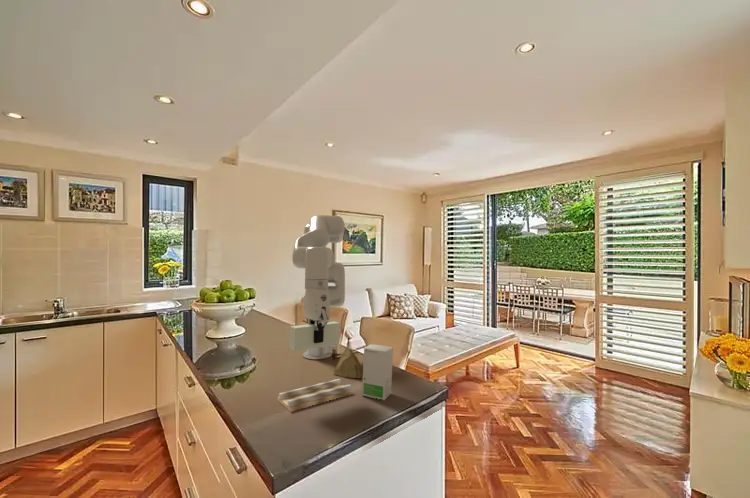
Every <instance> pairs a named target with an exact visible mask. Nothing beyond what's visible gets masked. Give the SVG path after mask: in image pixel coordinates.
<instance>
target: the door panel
mask: <svg viewBox="0 0 750 498" xmlns="http://www.w3.org/2000/svg"><path fill="white" fill-rule="evenodd" d="M318 325H319V323H318ZM340 326H341V324H340V322H338V321H329V322H328V323H327V324H326V325H325V327H324V337H323V342H321V343H314V330H315V324H307V323H306V324H302V325H301V324H300V325H292V326H291V325H290V330H289V332H290V333H289V349H290V351H291V350H292V351H294V352H299V351H307V349H312V348H318V347H324V346H330V345H332V346H333V345H340V334H341V333H340V330H341V329H340Z"/></svg>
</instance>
